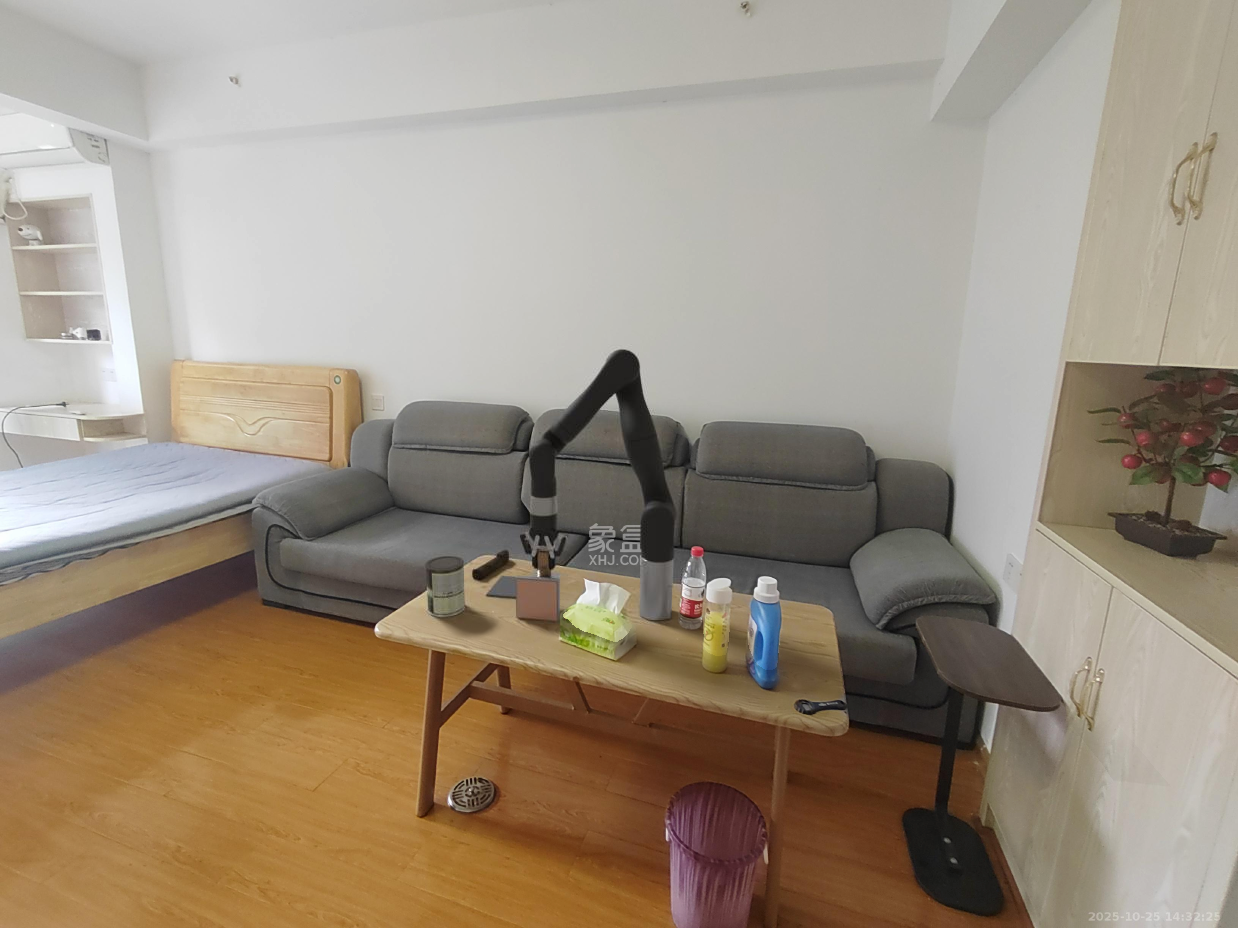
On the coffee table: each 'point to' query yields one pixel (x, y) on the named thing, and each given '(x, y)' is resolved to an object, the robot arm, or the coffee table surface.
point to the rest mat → (504, 587)
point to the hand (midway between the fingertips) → (544, 568)
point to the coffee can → (445, 586)
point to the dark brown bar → (491, 565)
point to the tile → (538, 598)
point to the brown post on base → (544, 565)
